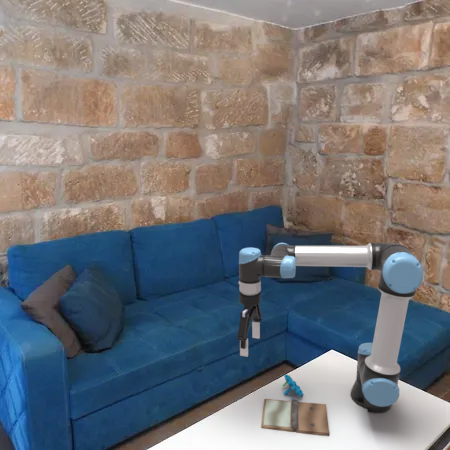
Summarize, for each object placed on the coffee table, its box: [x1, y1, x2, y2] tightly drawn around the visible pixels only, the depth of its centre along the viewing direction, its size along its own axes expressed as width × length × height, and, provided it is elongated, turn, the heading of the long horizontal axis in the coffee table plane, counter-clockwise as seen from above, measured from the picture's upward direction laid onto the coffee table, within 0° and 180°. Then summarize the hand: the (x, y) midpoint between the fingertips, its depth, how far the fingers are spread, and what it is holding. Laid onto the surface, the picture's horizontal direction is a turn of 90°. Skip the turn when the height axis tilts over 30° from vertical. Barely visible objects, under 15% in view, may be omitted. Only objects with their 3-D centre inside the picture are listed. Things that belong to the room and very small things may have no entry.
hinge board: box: [261, 398, 330, 437], centre depth 157 cm, size 23×16×2 cm
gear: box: [282, 374, 304, 397], centre depth 170 cm, size 11×6×10 cm
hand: (250, 346), depth 158 cm, fingers open, 13 cm apart
